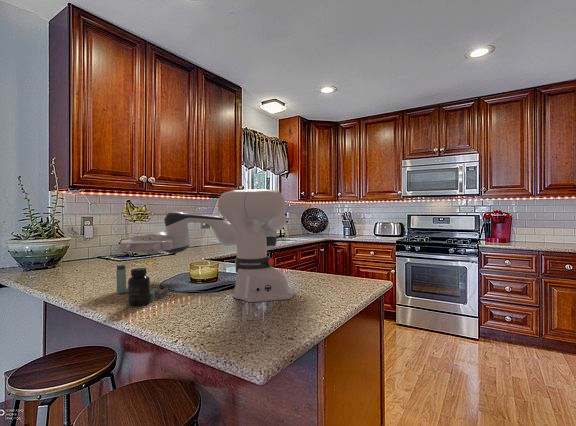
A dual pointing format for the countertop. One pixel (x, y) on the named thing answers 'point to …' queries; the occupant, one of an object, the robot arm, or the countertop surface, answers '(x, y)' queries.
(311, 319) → the countertop surface
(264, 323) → the countertop surface
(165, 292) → the channel
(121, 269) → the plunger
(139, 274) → the supplement bottle
